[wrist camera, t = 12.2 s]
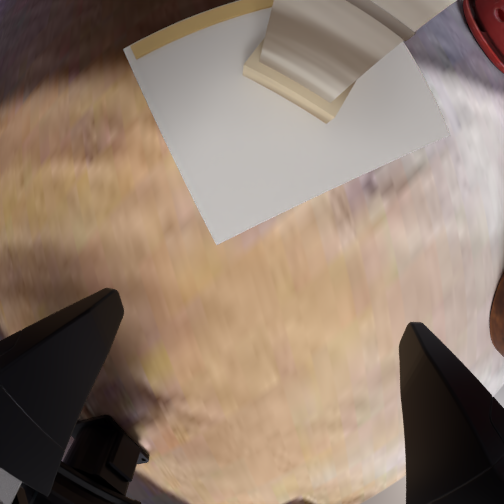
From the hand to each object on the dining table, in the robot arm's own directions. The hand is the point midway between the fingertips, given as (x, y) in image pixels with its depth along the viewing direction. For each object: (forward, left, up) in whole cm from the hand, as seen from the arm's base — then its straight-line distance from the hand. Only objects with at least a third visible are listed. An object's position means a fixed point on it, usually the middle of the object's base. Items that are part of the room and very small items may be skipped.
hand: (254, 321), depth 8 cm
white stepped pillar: (+9, +9, -8) cm, 15 cm away
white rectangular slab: (+8, +8, -10) cm, 16 cm away
